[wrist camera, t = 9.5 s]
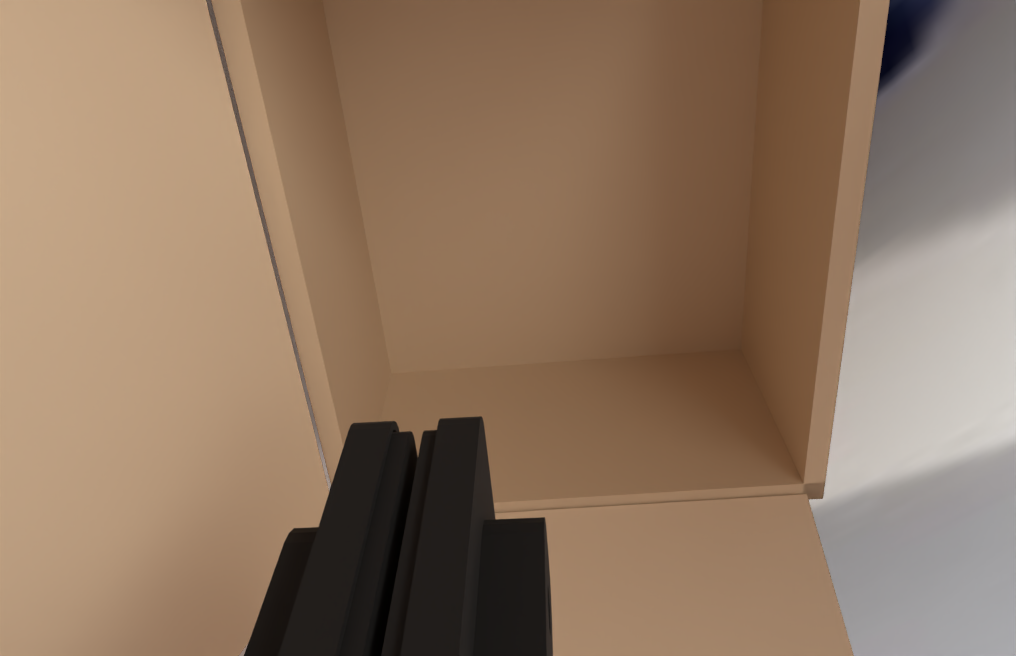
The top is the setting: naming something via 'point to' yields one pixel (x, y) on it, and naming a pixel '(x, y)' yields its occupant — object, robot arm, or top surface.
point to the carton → (585, 275)
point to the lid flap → (137, 343)
